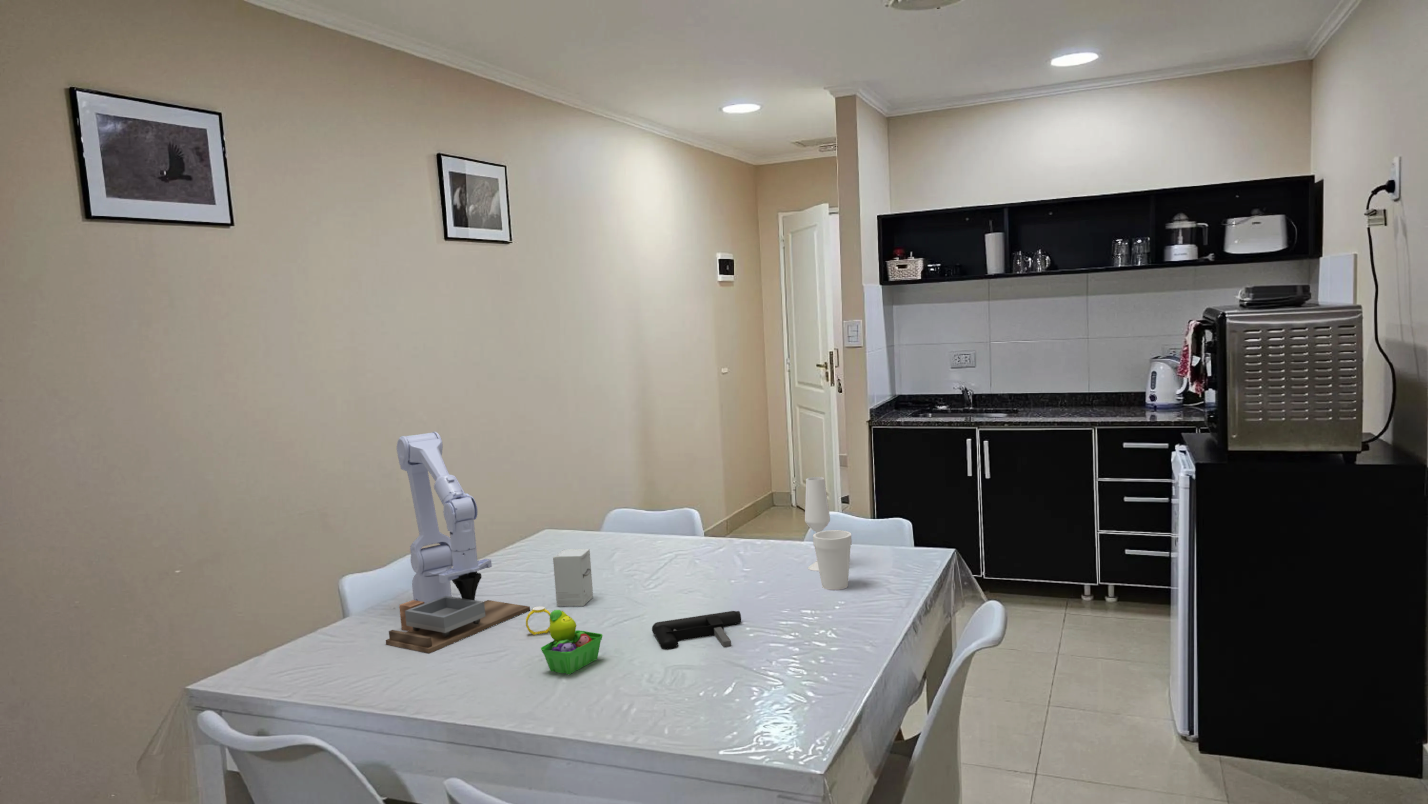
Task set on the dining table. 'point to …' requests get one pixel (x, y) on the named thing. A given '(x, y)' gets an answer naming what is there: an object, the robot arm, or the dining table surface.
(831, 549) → the foam cup
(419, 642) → the board
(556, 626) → the fruit basket
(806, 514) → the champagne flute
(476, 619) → the tray
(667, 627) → the door handle
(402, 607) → the part block
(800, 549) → the dining table surface
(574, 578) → the supplement box
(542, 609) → the watch
